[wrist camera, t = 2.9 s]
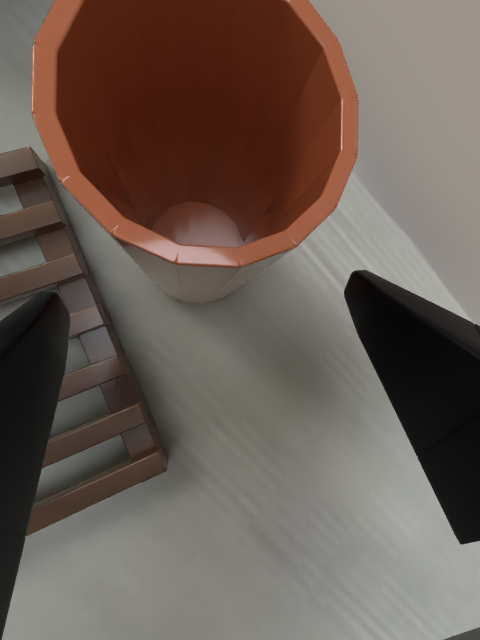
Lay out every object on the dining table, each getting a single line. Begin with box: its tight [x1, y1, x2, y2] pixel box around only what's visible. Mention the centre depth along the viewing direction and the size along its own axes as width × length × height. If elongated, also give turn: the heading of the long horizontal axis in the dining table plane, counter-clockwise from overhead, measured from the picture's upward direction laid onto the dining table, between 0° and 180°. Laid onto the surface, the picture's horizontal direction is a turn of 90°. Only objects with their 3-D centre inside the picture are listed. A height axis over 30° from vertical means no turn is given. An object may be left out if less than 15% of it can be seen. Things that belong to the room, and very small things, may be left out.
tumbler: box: [31, 0, 358, 304], centre depth 12 cm, size 7×7×13 cm
